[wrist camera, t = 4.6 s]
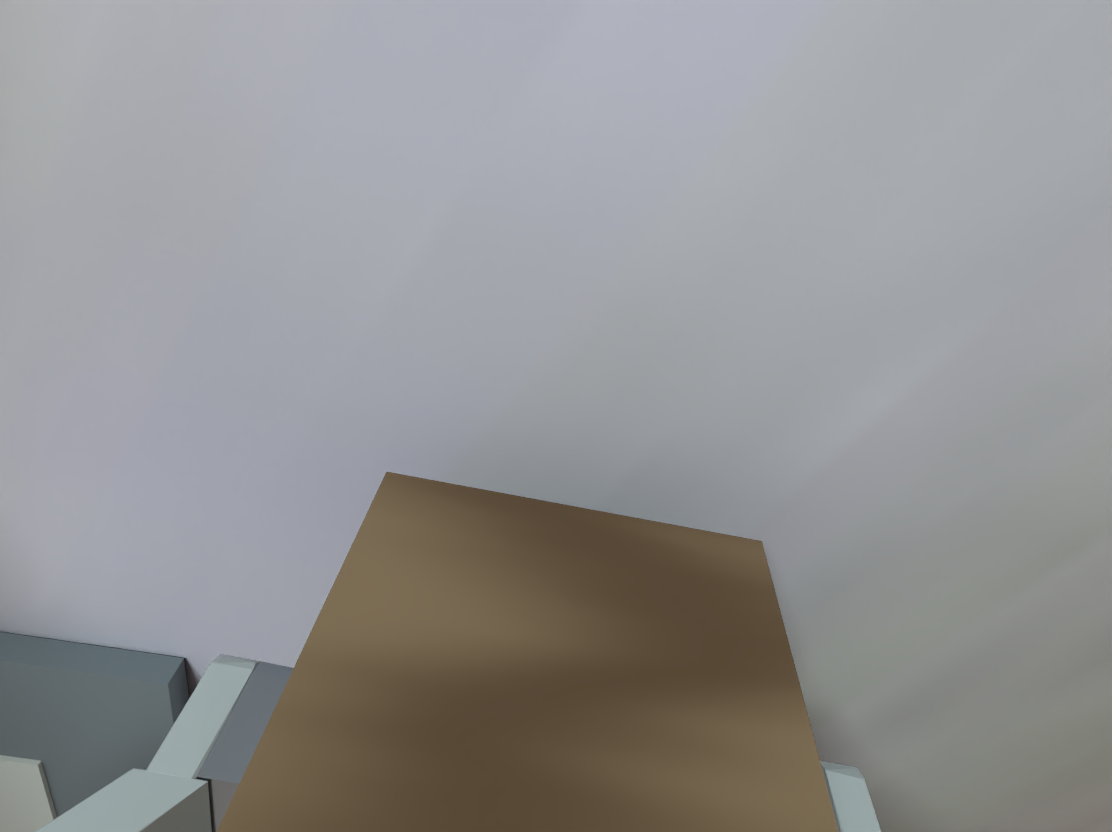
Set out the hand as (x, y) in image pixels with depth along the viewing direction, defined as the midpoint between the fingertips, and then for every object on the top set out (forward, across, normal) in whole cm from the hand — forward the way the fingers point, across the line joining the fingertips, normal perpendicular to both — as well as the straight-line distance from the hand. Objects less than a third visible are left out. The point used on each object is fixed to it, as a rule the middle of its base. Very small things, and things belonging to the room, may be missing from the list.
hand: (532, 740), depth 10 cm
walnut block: (+2, 0, 0) cm, 2 cm away
